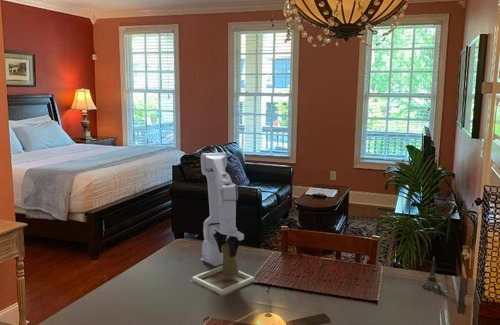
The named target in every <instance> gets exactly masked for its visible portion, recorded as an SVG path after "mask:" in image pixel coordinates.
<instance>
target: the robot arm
mask: <svg viewBox="0 0 500 325" xmlns="http://www.w3.org/2000/svg"><path fill="white" fill-rule="evenodd" d="M227 165H228V155H227V153H226V152H225V151H223V152H208V153H207V152H203V153H201V155H200V169H201V174H202V175H203V176H205V177H206V179H207V180H206V182H207V194H208V195H207V196H208V207H209V208H208V209H209V216H208V217H207V218H206V219H205V220H204V221H203V227H202V228H203V229H202V232H203V239H204V240H203V241H202V243H201V244H202V245H201V256H202V258H200V260H201V261H203V262H205V263H207V264H210V265H212V266H214V267H218V266H221V265H223V253H222V251H221V247H222V245H223V244H225V243H228V244H229V248H230V257H234V256H235V257H236V256H237V252H238V248H239V246H240V244H241V242H242V241H243V240H244V239H245V234H244V233H242V232H241V231H239V230H238V227H236V226H237V225H236V223H237V221H236V219H237V217H236V216H237V215H236V214H237V211H236V210H237V202H236V201H238V199H239V190H238V186H237V184H235V183H234V182H233V180H232V178H231V175H230V174H229V173H228V172H226V168H227Z"/></svg>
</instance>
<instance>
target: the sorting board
mask: <svg viewBox="0 0 500 325" xmlns="http://www.w3.org/2000/svg"><path fill="white" fill-rule="evenodd" d="M202 280H204V281H206V282H208V283H210V284H212V285H214V286H216V287H218V288H221V289H224V288H227V287H229V286H231V285H234V284H236V283H238V282H241V281H243V280H245V278H242V277H240V276H238V275H234V276H225V275H223V274H222V271H220V272H217V273H215V274H212V275H210V276H207V277H205V278H202ZM188 282H189V283H192V284H194V285H196V286H198V287H199V288H202V289H204V290H205V291H208V292H210V293H213V294H214V295H216V296H218V297H221V298H223V297H226V296H228V295H230V294H232V293H235V292H237V291H240V290H242V289H244V288H246V287H249V286H251V285H253V284H255V283H258V282H259V280H257V279H255V281H253V282H251V283H249V284H247V285H244V286H242V287H240V288H238V289H235V290H233V291H231V292H228V293H226V294H224V295H220V294H218V293H216V292H214V291H212V290H210V289H208V288H206V287H204V286H202V285H200V284H198V283H196V282H194V281H192V279H189V280H188Z"/></svg>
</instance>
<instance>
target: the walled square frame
mask: <svg viewBox="0 0 500 325" xmlns="http://www.w3.org/2000/svg"><path fill="white" fill-rule="evenodd" d="M222 268H223V264H221V265H219V266H216V267H215V268H212V269H210V270H207V271H204V272H201V273H198V274H196V275H194V276H191V278H192V279H191V280H192V281H194V282H196V283H198V284H200V285H202V286H204V287H206V288H208V289H210V290H212V291H214V292H216V293H218V294H220V295H224V294H226V293H228V292H231V291H233V290H235V289H238V288H240V287H242V286H244V285H247V284H249V283H251V282H253V281H255V280H256V279H255V276H253V275H251V274H248V273H245V272H243V271H241V270H240V269H238V271H239V272H238V274H236V275H238V276H240V277H242V278H245V280H243V281H241V282H238V283H236V284H234V285H231V286H229V287H227V288H224V289H221V288H218V287H216V286H214V285H212V284H210V283H208V282H206V281H204V280H202V278H205V277H207V276H210V275H212V274H215V273H217V272H220V271H222Z"/></svg>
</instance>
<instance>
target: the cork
mask: <svg viewBox="0 0 500 325" xmlns="http://www.w3.org/2000/svg"><path fill="white" fill-rule="evenodd" d="M221 251H222V253H223V264H222V265H223V268H222V274H223V275H225V276H234V275H236V274H238V272H239V271H240V270H239V267H238V263H237V259H236V258H237V257H236V256H234V257H230V248H229V244H228V242H226V243H225V244H223V245H222V247H221ZM238 270H239V271H238Z"/></svg>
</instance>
